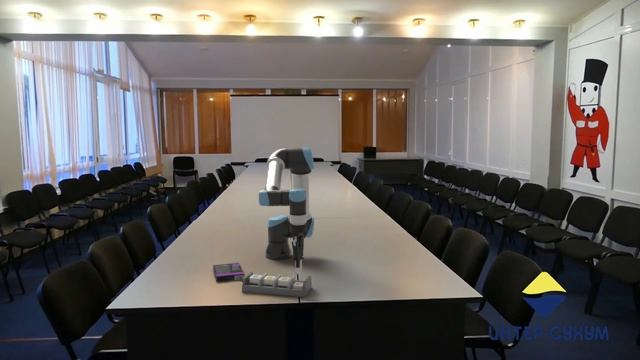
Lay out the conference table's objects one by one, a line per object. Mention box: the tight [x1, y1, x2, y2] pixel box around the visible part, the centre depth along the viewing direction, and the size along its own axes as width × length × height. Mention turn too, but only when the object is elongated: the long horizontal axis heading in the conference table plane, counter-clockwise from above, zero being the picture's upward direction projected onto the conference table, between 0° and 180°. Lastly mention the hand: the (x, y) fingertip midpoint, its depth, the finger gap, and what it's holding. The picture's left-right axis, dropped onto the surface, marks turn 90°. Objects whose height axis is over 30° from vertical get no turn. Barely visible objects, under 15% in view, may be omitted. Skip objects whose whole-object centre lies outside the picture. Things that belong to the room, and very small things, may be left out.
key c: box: [293, 282, 303, 290], centre depth 203 cm, size 4×4×3 cm
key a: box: [278, 276, 291, 286], centre depth 205 cm, size 4×4×3 cm
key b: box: [249, 274, 263, 284], centre depth 208 cm, size 4×4×3 cm
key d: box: [264, 275, 277, 285], centre depth 207 cm, size 4×4×3 cm
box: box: [212, 262, 246, 283], centre depth 228 cm, size 14×4×20 cm
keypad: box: [241, 270, 313, 298], centre depth 206 cm, size 12×30×6 cm, turn 76°
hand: (298, 273), depth 203 cm, fingers closed
